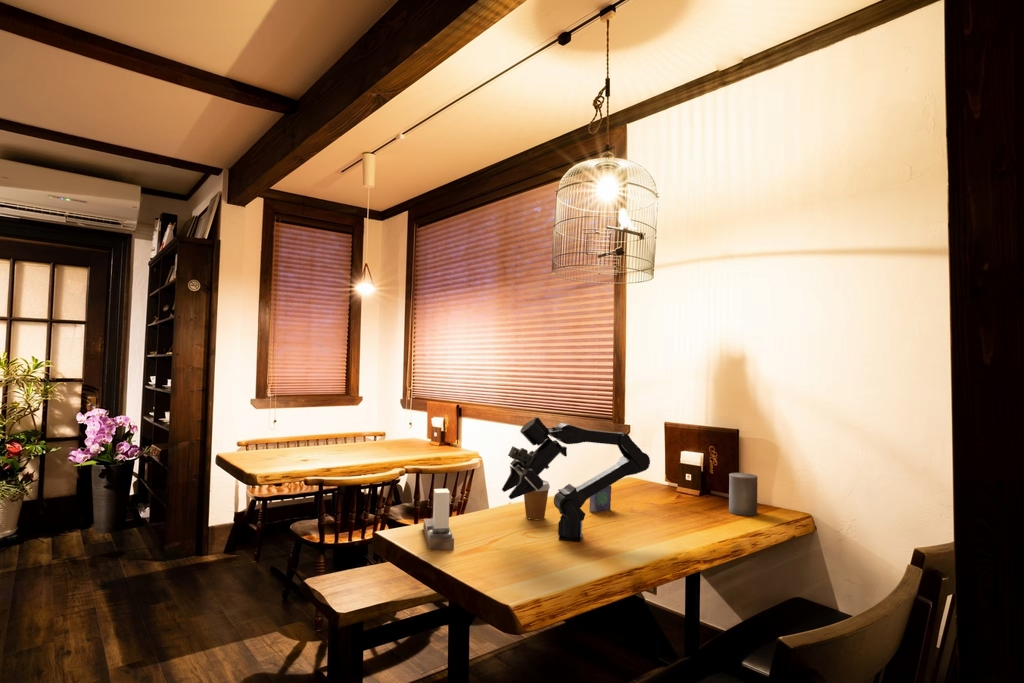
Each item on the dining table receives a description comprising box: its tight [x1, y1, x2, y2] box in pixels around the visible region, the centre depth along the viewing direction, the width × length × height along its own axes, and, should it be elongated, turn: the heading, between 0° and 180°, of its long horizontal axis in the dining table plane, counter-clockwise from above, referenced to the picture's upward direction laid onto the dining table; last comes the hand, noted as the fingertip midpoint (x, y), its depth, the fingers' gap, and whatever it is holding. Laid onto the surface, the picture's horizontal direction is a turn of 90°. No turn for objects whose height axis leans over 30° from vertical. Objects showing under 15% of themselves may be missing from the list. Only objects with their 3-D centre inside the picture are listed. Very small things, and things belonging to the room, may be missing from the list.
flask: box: [588, 484, 612, 513], centre depth 205 cm, size 9×3×11 cm, turn 121°
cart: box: [432, 488, 451, 534], centre depth 164 cm, size 5×6×12 cm
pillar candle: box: [728, 471, 758, 517], centre depth 208 cm, size 10×10×15 cm
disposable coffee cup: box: [523, 479, 551, 520], centre depth 194 cm, size 10×10×12 cm
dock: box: [423, 518, 455, 552], centre depth 169 cm, size 7×21×4 cm, turn 13°
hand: (506, 494), depth 168 cm, fingers open, 9 cm apart
